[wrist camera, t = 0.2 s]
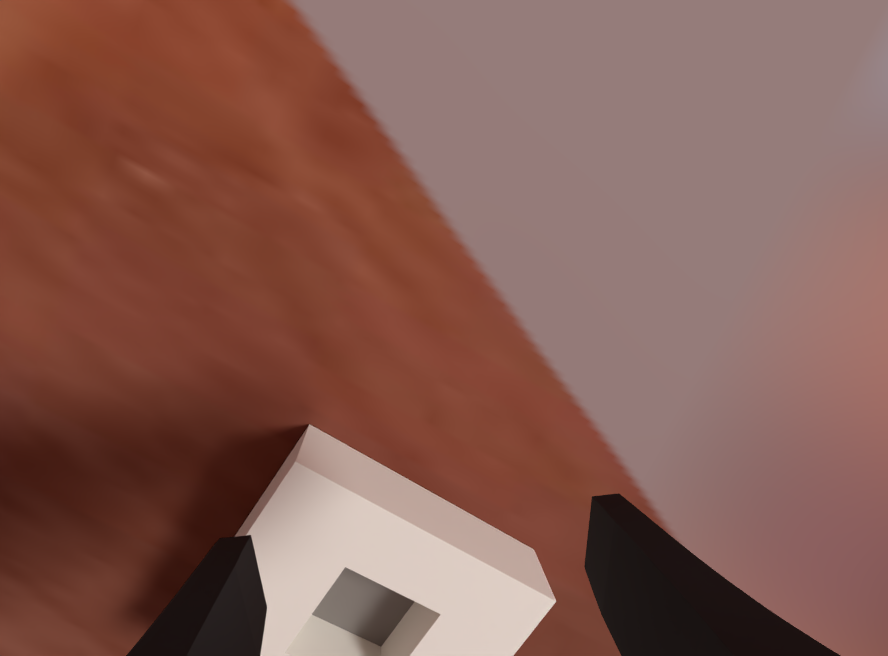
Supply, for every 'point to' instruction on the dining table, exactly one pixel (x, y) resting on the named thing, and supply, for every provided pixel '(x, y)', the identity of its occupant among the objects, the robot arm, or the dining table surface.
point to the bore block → (384, 564)
